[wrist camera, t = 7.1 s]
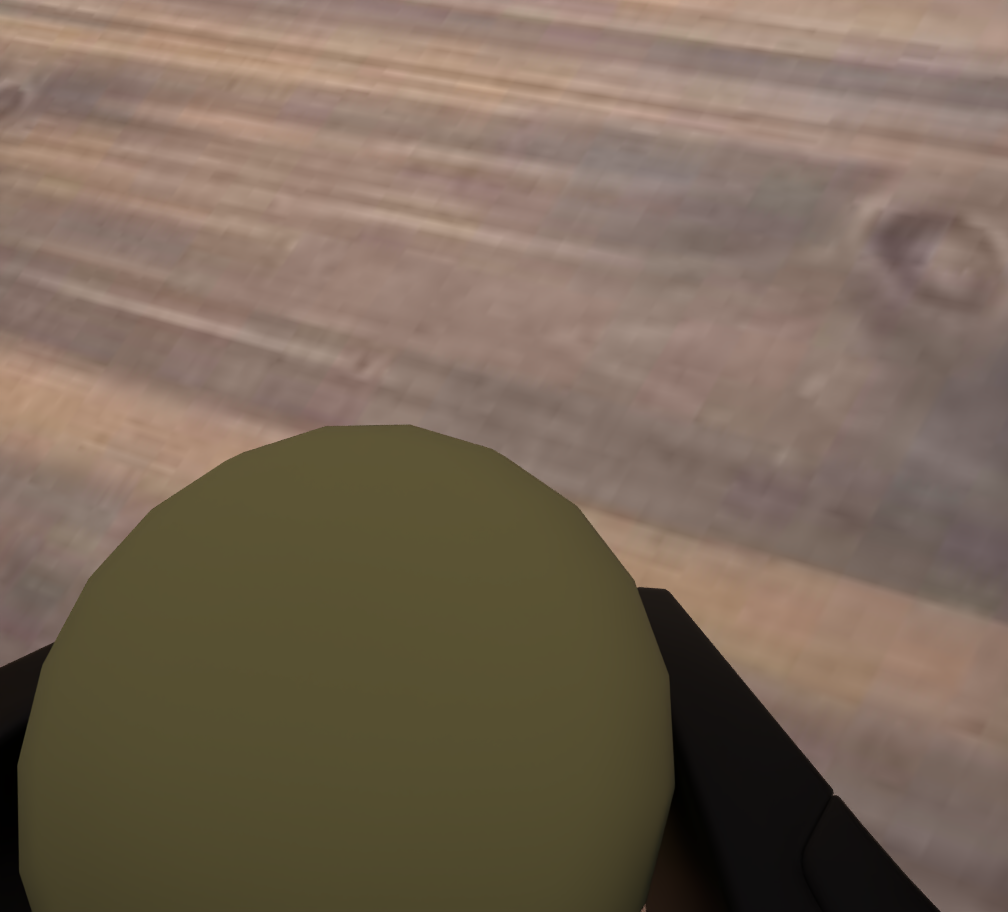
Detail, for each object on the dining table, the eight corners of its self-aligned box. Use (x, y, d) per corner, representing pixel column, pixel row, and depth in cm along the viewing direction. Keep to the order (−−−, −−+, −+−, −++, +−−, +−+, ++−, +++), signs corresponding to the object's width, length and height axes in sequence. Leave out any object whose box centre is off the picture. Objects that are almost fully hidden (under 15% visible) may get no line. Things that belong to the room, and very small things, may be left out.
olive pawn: (357, 586, 16) (-76, 381, 5) (610, 547, 15) (661, 248, 5) (372, 879, 14) (-296, 1459, 3) (666, 843, 13) (951, 1367, 3)
